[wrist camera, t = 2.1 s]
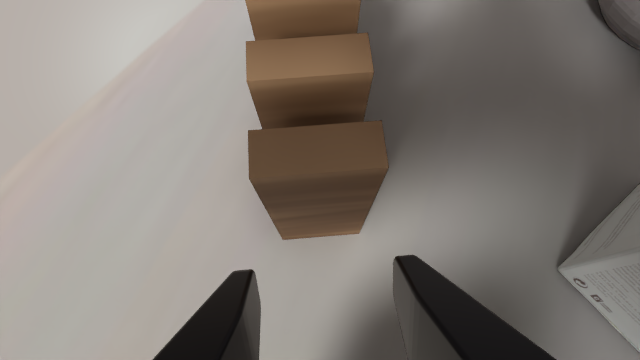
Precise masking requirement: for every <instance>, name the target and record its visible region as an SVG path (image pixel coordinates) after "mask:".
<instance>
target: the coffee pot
mask: <svg viewBox="0 0 640 360" xmlns="http://www.w3.org/2000/svg"><path fill="white" fill-rule="evenodd" d="M598 1H599V4H600V8H601V12H602V15H603V17H604V19H605V21H606V22H607V24H608V26H609V27H610V28H611V29H612V30H613V31H614V32H615V33H616V34H617V36H618V37H620V38H621V39H622V40H624V41H625V42H627V43H628V44H630V45H631V46H632V47H635V48H637V49H639V50H640V0H598Z"/></svg>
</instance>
